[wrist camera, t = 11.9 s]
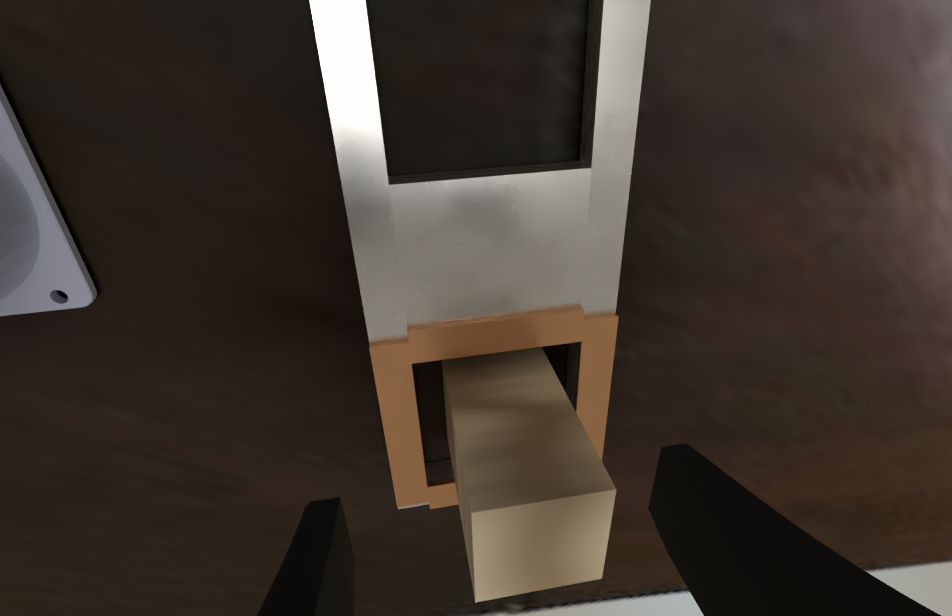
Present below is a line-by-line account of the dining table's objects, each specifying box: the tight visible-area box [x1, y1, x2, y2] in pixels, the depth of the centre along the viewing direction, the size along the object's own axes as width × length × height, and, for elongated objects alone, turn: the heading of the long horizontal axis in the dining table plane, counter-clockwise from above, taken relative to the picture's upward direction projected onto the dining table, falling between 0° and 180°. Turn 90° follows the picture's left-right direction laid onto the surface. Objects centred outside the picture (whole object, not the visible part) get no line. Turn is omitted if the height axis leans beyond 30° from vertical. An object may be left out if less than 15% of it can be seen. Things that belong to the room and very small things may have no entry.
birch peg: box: [442, 347, 616, 602], centre depth 19 cm, size 4×4×8 cm
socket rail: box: [309, 0, 651, 509], centre depth 19 cm, size 10×24×2 cm, turn 2°
